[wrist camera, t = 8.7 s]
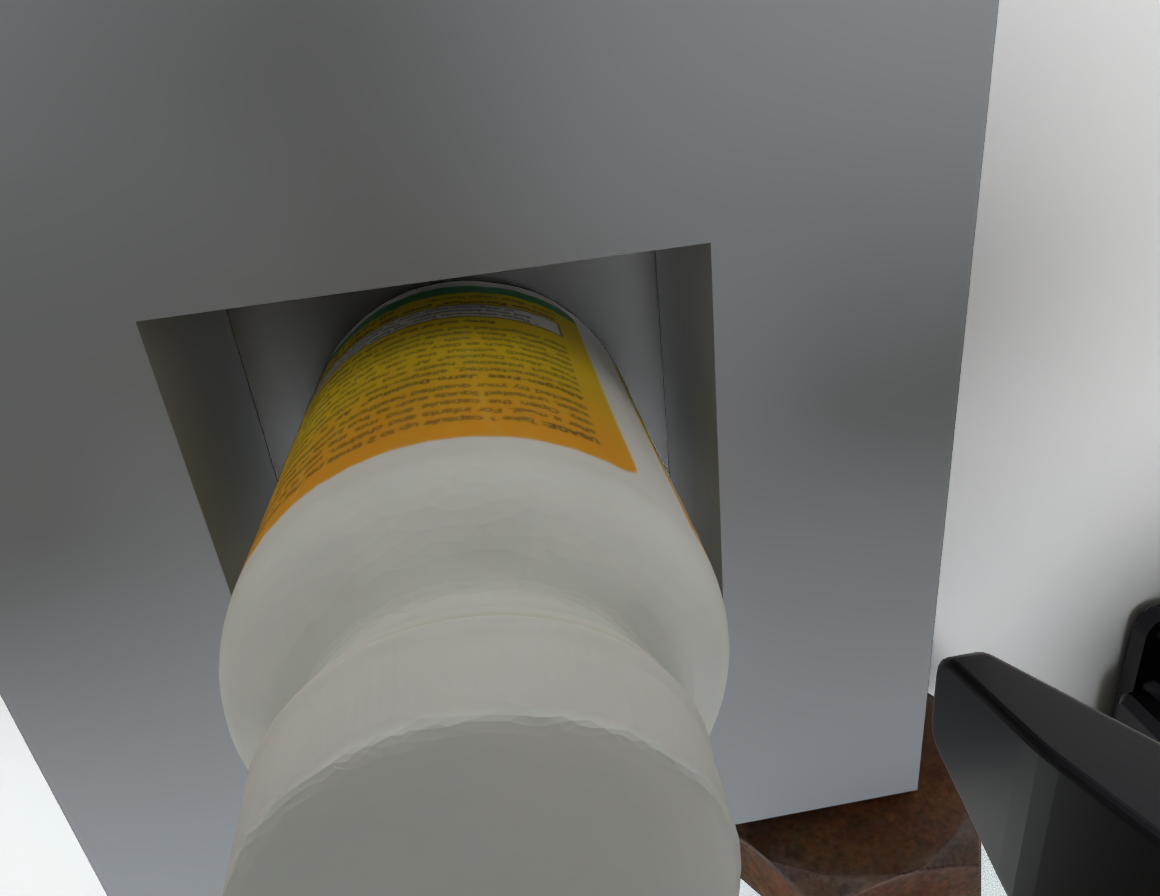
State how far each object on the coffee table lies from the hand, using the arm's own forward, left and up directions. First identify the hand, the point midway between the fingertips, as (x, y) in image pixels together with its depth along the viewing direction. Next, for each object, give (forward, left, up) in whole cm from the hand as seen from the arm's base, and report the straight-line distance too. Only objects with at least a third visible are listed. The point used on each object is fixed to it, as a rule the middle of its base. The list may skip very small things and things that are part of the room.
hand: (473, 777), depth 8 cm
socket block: (0, 0, -8) cm, 8 cm away
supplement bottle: (0, 0, -8) cm, 8 cm away
